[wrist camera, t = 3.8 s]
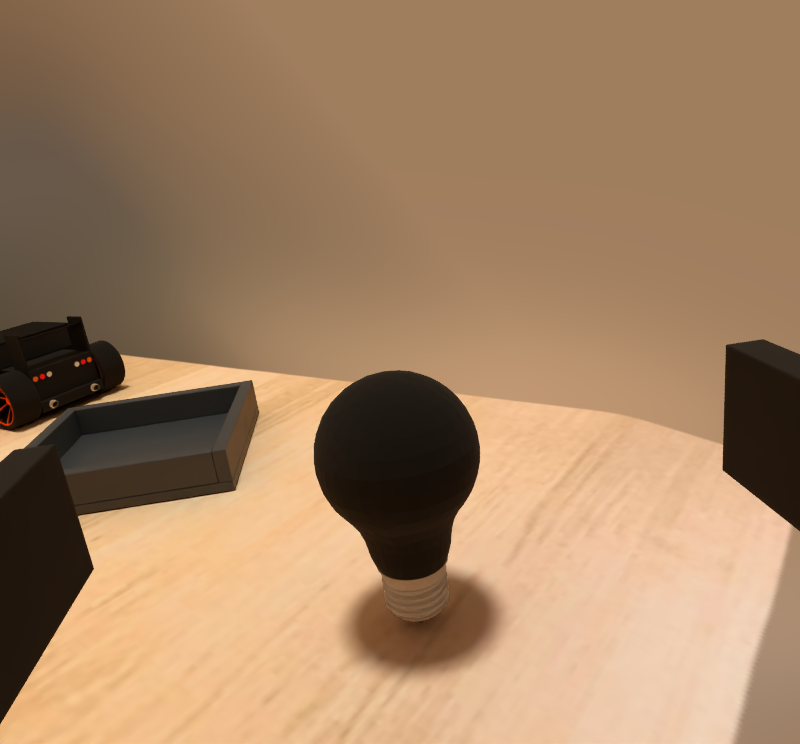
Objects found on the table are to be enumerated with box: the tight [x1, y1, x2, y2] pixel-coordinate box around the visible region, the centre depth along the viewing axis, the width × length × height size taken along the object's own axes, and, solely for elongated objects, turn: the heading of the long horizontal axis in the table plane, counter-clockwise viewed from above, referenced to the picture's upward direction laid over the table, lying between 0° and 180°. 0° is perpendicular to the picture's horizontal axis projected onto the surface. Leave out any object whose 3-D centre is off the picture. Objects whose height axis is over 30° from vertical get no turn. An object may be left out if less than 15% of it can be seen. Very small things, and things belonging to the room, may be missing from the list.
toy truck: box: [0, 316, 125, 430], centre depth 61 cm, size 10×20×7 cm, turn 59°
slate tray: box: [24, 380, 259, 515], centre depth 44 cm, size 14×13×3 cm
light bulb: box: [314, 370, 480, 622], centre depth 24 cm, size 6×6×10 cm
